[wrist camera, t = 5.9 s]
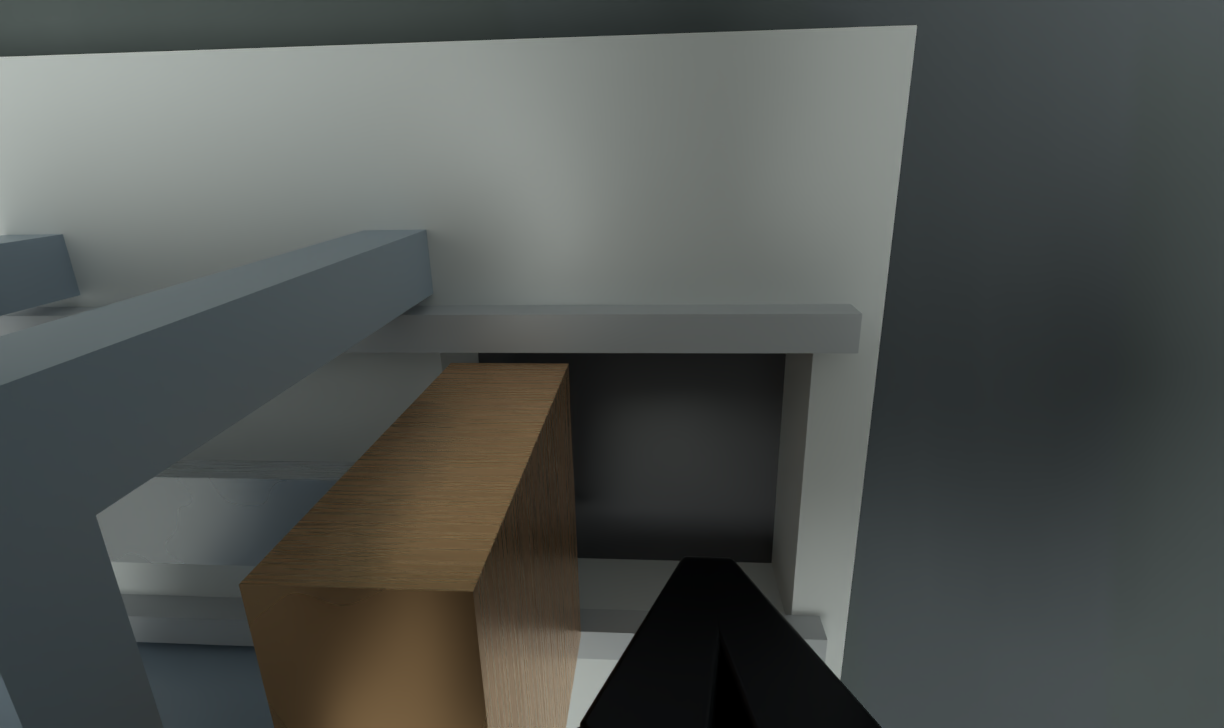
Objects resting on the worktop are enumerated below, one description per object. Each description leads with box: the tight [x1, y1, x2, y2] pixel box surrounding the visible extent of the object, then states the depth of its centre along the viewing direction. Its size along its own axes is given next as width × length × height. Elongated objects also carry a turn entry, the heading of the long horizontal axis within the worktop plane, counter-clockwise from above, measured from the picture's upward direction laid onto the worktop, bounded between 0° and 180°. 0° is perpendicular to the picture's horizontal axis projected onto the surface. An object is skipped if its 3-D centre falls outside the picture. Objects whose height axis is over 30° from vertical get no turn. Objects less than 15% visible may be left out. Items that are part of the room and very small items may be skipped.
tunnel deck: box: [0, 25, 917, 728], centre depth 9 cm, size 25×14×10 cm, turn 91°
